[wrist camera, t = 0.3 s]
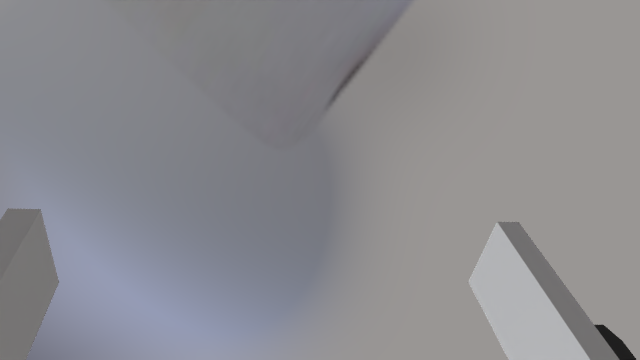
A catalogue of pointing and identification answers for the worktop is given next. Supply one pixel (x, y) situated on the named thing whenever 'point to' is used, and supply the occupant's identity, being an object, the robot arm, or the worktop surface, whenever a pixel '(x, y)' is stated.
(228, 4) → the worktop surface
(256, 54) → the worktop surface
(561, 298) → the robot arm
